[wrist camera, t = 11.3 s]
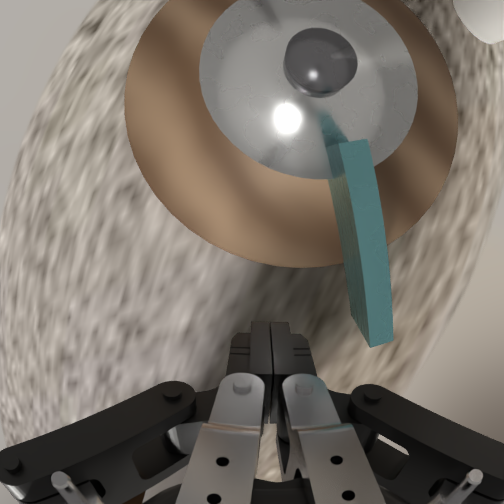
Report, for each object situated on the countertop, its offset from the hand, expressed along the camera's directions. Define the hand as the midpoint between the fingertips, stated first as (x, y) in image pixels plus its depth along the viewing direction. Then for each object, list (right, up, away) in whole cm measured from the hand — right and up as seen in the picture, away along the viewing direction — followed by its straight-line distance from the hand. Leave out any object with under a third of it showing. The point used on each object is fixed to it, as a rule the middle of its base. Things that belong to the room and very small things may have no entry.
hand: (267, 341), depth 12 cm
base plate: (+3, +16, +9) cm, 19 cm away
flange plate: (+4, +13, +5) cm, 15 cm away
